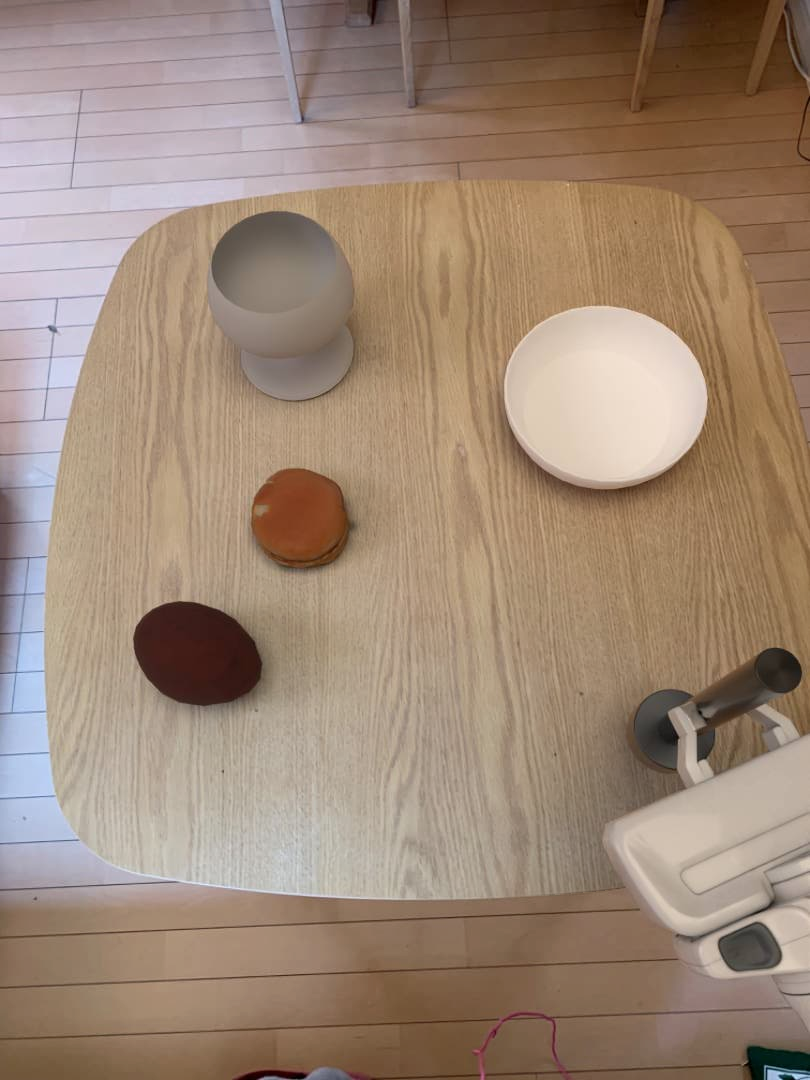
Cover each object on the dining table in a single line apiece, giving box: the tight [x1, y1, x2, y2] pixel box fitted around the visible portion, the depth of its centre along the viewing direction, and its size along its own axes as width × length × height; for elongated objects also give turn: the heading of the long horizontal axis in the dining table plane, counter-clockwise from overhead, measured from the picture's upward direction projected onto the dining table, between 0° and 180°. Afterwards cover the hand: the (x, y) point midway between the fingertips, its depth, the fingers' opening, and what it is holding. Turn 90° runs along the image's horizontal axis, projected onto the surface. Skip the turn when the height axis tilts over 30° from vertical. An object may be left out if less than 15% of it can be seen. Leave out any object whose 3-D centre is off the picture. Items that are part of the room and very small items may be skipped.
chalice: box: [206, 210, 355, 401], centre depth 84 cm, size 14×14×15 cm
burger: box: [250, 467, 350, 569], centre depth 82 cm, size 10×9×5 cm
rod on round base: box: [626, 647, 803, 775], centre depth 55 cm, size 6×6×24 cm
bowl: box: [503, 305, 709, 490], centre depth 85 cm, size 20×20×6 cm
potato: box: [132, 600, 263, 707], centre depth 75 cm, size 9×12×9 cm
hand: (705, 694), depth 55 cm, fingers closed on rod on round base, 2 cm apart
